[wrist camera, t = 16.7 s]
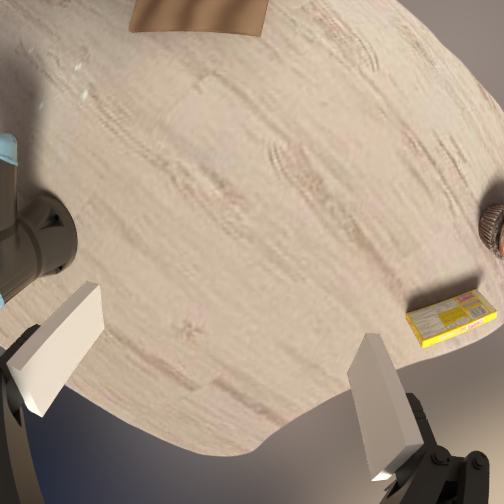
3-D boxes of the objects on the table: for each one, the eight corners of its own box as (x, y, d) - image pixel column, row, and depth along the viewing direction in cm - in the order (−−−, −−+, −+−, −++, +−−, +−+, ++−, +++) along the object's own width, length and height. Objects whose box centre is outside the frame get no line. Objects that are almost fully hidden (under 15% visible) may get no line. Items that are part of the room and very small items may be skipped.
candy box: (405, 321, 49) (421, 349, 41) (405, 312, 48) (422, 339, 40) (475, 296, 46) (496, 319, 38) (476, 287, 45) (498, 309, 38)
